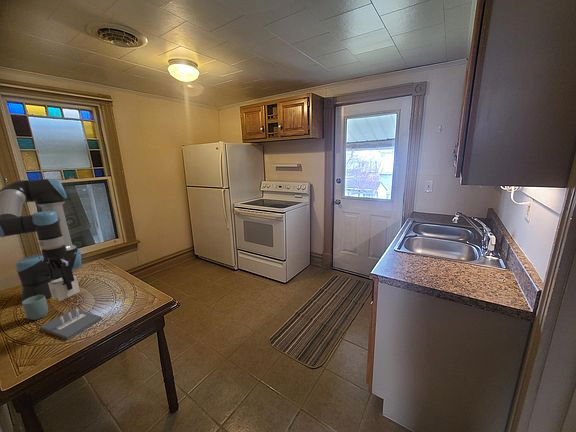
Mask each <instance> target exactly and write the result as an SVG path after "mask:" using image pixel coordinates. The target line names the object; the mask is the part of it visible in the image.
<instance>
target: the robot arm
mask: <svg viewBox="0 0 576 432" xmlns="http://www.w3.org/2000/svg"><path fill="white" fill-rule="evenodd" d="M66 199H68V196H67V194H66V191H65V189H64V186H63V183H62V182H61V180H59V179H58V178H44V179H43V178H41V179H27V180H24V179H23V180H18V181H17V180H16V181H13V182H11V183H8V184H6V185H4V186H3V187H2V188H1V189H0V238H5V237H9V236H16V235H23V234H29V233H36V235H37V239H38V245H39V247H40V249H41V253H36V254H33V255H29V256H26V257H24V258H22V259H20V260H18V261H17V262H16V264H15V268H16V272H17V275H18V277H19V280H20V283H21V286H22V288H21V289H22V290H21V294H20V295H21V296H20V298H21V299H20V300H21V303H22V302H23V301H24V300H25V299H27V298H30V297H33V296H36V295H44V296H45V298H46V300H47V299H49V298H52V295H51V292H50V288H49V285H48V283H49V282H51V281H54V280H56V279H59V278H62V279H63V282H64V283H63V284H62V285H63V286H64V290H65V293H66V297H67V298H69V297H71V296H74V295H75V294H74V290H73V287H72V283H71V282H73V281H74V277H73V275H74V274H73V271H74V270H78V269H80V268H81V267H82V253H81V252H82V251H81V248H77V246H76V245H74V244H73V242H72V238H71V235H70V231H69V226H68V223H67V218H66V215H65V211H64V206H63V205H64V204H65V203H66ZM34 202H35V203H36V206H38V207H40V208H41V210H42V211H38V212H34V213H33V214H29V215H27V214H26V215H22V212H23V205H24V204H26V203H34Z"/></svg>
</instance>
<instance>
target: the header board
mask: <svg viewBox="0 0 576 432" xmlns="http://www.w3.org/2000/svg"><path fill="white" fill-rule="evenodd" d="M102 320H103V316H101V315H98V314H94V313H91V312H86V311H84V310H80V309H79V308H73V309H71V310H70V311H68V312H67V311H66V312H65V313H63V314H61V315H59V316H57V317H55V318H54V319H52V320H50V321H48V322H45V323H44V324H42V325H40V326H39V329H40V330H41V331H44V332H47V333H48V334H51V335H54V336H56V337H60V338H62V339H64V340H67V341H69V340H70V339H72V338H73V337H75V336H77V335H79V334H81V333H82V332H83V331H86V330H87V329H89V328H91V327H92V326H93V325H96V324H97V323H98V322H100V321H102Z"/></svg>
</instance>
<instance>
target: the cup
mask: <svg viewBox="0 0 576 432" xmlns="http://www.w3.org/2000/svg"><path fill="white" fill-rule="evenodd" d="M21 306H22V309H23V312H24V314H25V316H26V317H27V319H28V320H30V321H37V320H40V319H42V318H44V317H46V316H47V314H48V312H49V305H48V302H47V299H46V298H45V296H44V295H36V296H33V297H30V298H27V299H25V300H24V301H23V302H22V301H21Z"/></svg>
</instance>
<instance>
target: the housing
mask: <svg viewBox="0 0 576 432" xmlns="http://www.w3.org/2000/svg"><path fill="white" fill-rule="evenodd" d="M73 277H74V281H73V282H71V283H72V287H73V290H74V295H76V294H78V293H80V292H81V290H80V286H79V282H78V277H77V276H76V275H74V274H73ZM63 283H64V282H63V279H62V278H59V279H56V280H54V281H51V282H49V283H48V285H49V288H50V292H51V295H52V296H51V298H52V300H56V299H57V301H58V302H59V301H60V302H61V301H63V300H65V299H68V297H66V293H65V290H64V286H63V285H62V284H63Z"/></svg>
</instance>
